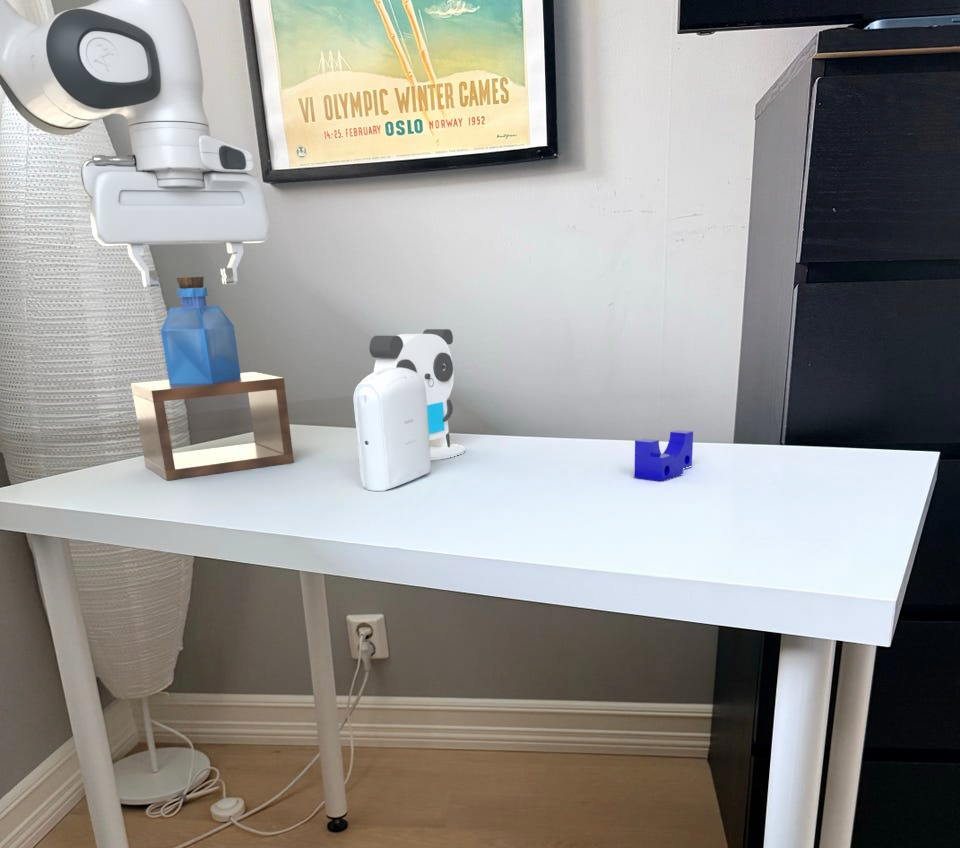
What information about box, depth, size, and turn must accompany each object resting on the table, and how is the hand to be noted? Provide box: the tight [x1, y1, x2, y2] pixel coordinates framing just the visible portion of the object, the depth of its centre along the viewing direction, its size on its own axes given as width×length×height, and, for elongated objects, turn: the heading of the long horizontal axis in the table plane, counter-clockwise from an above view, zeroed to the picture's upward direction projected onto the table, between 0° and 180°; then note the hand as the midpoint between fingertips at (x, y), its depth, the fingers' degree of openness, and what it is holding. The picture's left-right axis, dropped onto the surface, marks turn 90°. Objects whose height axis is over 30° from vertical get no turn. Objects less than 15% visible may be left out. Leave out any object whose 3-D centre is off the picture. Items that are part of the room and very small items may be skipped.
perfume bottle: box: [160, 276, 241, 384], centre depth 113 cm, size 6×6×12 cm
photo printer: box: [352, 367, 432, 492], centre depth 102 cm, size 10×4×12 cm, turn 153°
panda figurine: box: [368, 328, 466, 461], centre depth 117 cm, size 12×11×15 cm
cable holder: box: [634, 429, 694, 482], centre depth 101 cm, size 8×4×4 cm, turn 135°
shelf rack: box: [130, 371, 295, 482], centre depth 117 cm, size 16×12×10 cm
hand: (191, 285), depth 111 cm, fingers open, 8 cm apart
